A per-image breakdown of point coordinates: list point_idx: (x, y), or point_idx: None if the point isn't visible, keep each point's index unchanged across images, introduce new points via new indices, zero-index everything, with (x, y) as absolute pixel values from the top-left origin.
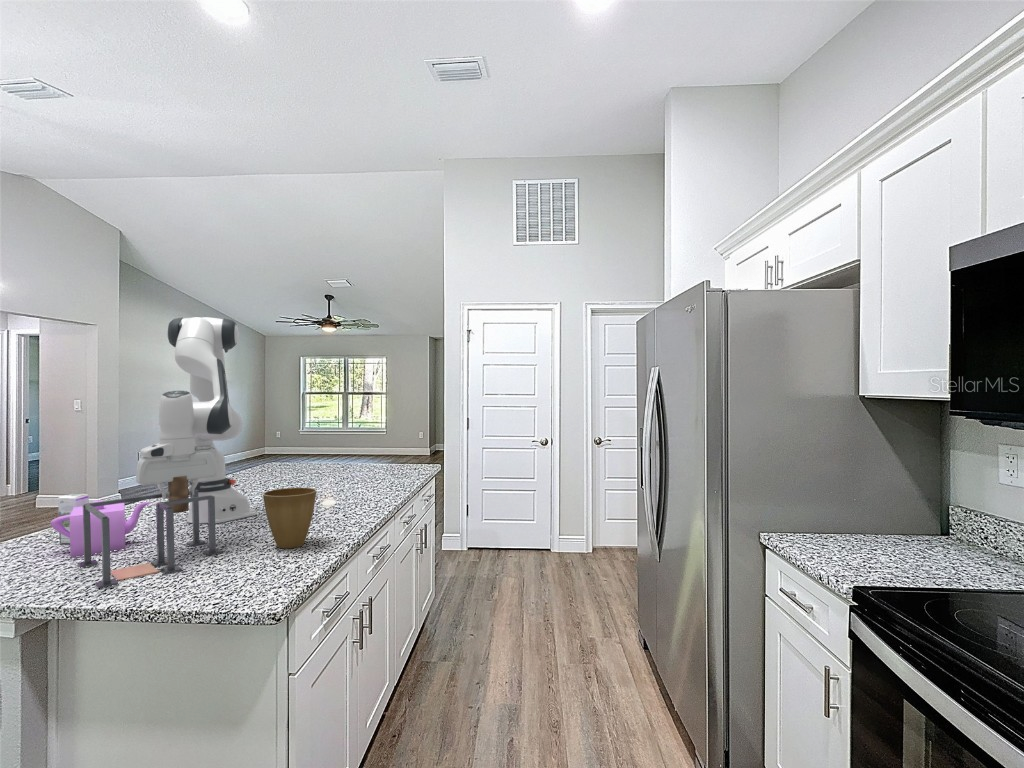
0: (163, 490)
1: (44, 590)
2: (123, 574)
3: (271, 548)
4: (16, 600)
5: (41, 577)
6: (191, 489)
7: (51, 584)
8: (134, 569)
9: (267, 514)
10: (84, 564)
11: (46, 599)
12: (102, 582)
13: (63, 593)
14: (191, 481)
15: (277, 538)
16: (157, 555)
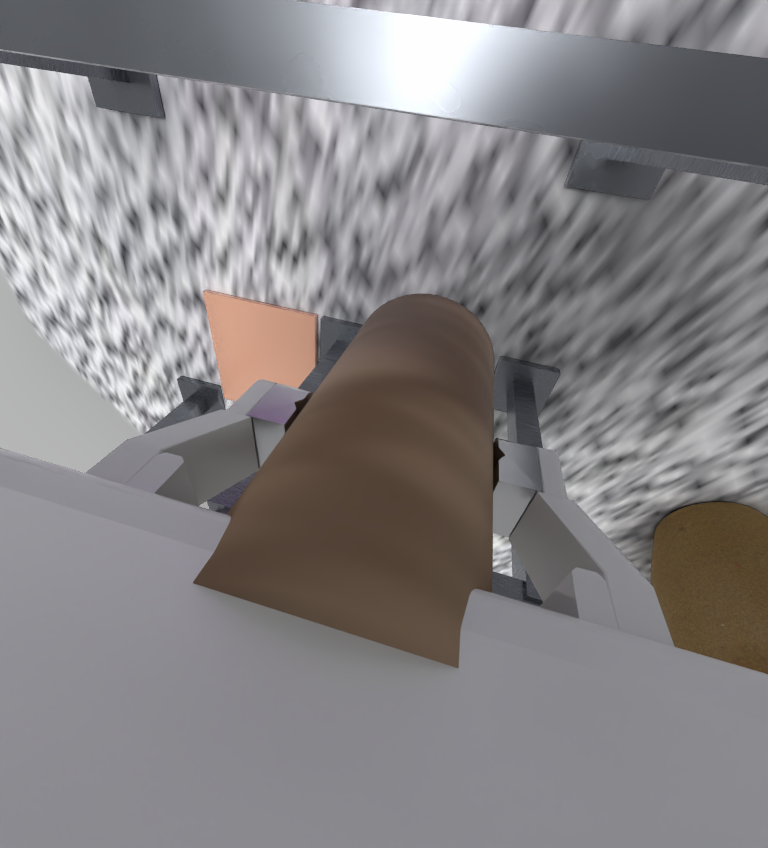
0: (220, 481)
1: (75, 305)
2: (238, 368)
3: (650, 504)
4: (41, 328)
5: (3, 118)
6: (506, 531)
7: (73, 260)
8: (267, 349)
9: (676, 632)
10: (107, 89)
11: (103, 379)
12: (192, 393)
13: (126, 370)
14: (557, 596)
15: (652, 558)
16: (328, 352)
